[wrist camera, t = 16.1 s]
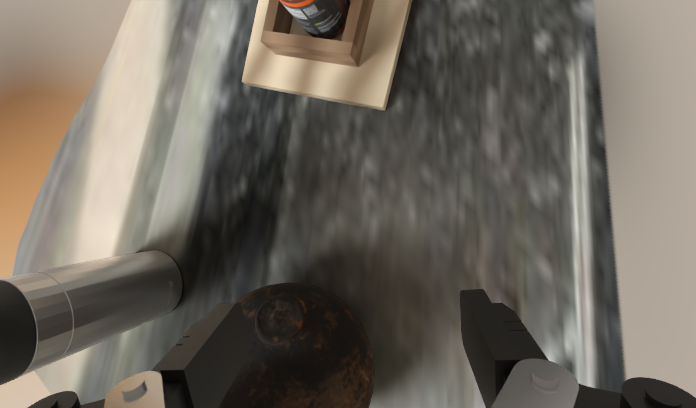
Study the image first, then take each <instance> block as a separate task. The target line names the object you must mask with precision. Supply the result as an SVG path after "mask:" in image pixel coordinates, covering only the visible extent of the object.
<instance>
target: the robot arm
mask: <svg viewBox="0 0 696 408" xmlns="http://www.w3.org/2000/svg"><path fill="white" fill-rule="evenodd" d="M182 287H183V286H182V277H181V273H180V271H179V269H178V266H177V265H176V263H175V262H174V260H173V259H172V258H171V257H170V256H168V255H167V254H165V253H163V252H160V251H155V250H151V251H146V252H140V253H132V254H126V255H121V256H116V257H110V258H105V259H99V260H94V261H89V262H83V263H78V264H72V265H67V266H64V267H58V268H53V269H47V270H42V271H37V272H32V273H27V274H21V275H16V276H11V277H6V278H0V385H2V384H4V383H7V382H9V381H11V380H14V379H16V378H18V377H21V376H23V375H25V374H27V373H30V372H32V371H35V370H37V369H39V368H42V367H44V366H46V365H49V364H51V363H53V362H56V361H58V360H60V359H63V358H65V357H67V356H70V355H72V354H74V353H77V352H79V351H81V350H84V349H86V348H88V347H91V346H93V345H95V344H98V343H100V342H102V341H105V340H107V339H109V338H112V337H114V336H116V335H119V334H121V333H123V332H126V331H128V330H130V329H133V328H135V327H137V326H140V325H142V324H144V323H147V322H149V321H151V320H154V319H156V318H159V317H161V316H163V315H166V314H168V313H169V312H171V311H172V310H173V309H174V308H175V307H176V306H177V304H178V302H179V301H180V298H181V294H182ZM460 310H461V332H462V340H463V345H464V348H465V351H466V354H467V357H468V360H469V362H470V365H471V368H472V371H473V373H474V376H475V379H476V382H477V384H478V387H479V390H480V393H481V395H482V398H483V401H484V404H485V406H486V408H696V398H695V397H693V396H692V395H690V394H689V393H688V392H686V391H684V390H682V389H680V388H678V387H676V386H674V385H672V384H669V383H666V382H663V381H660V380H656V379H651V378H642V377H639V378H631V379H628V380H626V381H625V382H624V383H623V384H622V388H621V393H616V392H611V391H606V390H601V389H596V388H591V387H587V386H584V385H581V384H578V382H577V380H576V378H575V377H574V376H573V374H572V373H571V372H569V371H568V370H567V369H565V368H564V367H562V366H560V365H558V364H556V363H554V362H551V361H549V360H548V359H547V358H546V356H545V355H544V353H543V352H542V350H541V349H540V347H539V346H538V345H537V343H536V342H535V340H534V339H533V337H532V336H531V334H530V333H529V332H528V331H527V329H526V327H525V326H524V324H523V323H521V320H520V319H519V317H518V316H517V314H516V313H515V311H513V310H512V309H510V308H509V307H507V306H506V305H504V304H503V303H491V301H490V299H489V298H488V296H487V294H486V293H485V291H484V290H483V289H476V290H461V291H460ZM248 352H249V336H248V331H247V327H246V322H245V317H244V312H243V308H242V305H241V304H240V303H222V304H218V305H217V306H216V307H215V308H214V309H213V310H212V311H211V313H210V314H209V315H208V316H207V317H206V318H203V319H202V320H201V321H199V322H198V323H196V324H195V325H193V326H192V327H191V328H190V329H189V330H188V331H187V332H186V333H185V334H184V335H183V338H181V339H180V340H179V341H178V342H177V343H176V346H173V348H172V349H171V350H170V351H169V352H168V353H167V354H166V355H165V356H164V357H163V359H162V360H161V361H160V362H159V363H158V364H157V365H156V366H155V367H154V369H153V370H152V371H146V372H142V373H138V374H136V375H133V376H131V377H129V378H127V379H125V380H124V381H122V382H120V383H119V384H118V385H116V386H115V387H114V388H113V389H112V390H111V391H110V392H109V394H108V395H107V397H106V399H103V400H99V401H96V402H92V403H88V404H84V405H80V402H79V399H78V396H77V394H76V393H75V392H72V391H65V392H60V393H56V394H53V395H50V396H48V397H46V398H44V399H41V400H40V401H38V402H36V403H34V404H33V405H31V406H30V407H28V408H218V407H219V406H220V404H221V402H222V400H223V398H224V397H225V395H226V393H227V391H228V390H229V388H230V386H231V384H232V382H233V381H234V379H235V377H236V375H237V373H238V372H239V370H240V368H241V366H242V365H243V363H244V361H245V359H246V357H247V355H248Z"/></svg>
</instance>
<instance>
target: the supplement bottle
mask: <svg viewBox="0 0 696 408" xmlns="http://www.w3.org/2000/svg"><path fill="white" fill-rule="evenodd" d="M279 1H280V2H281V3H282V4H283V5H284V7H285V8H286V9H287V10H288V11H289V12H290V13H291V15H292V16H293V17H294V18H295V19H296V20H297V21H298V23H299V24H300V25H301V26H302V27H303V28H304V30H305V31H306V32H307V33H308V34H309V35H311V36H312V37H315V38H323V39H331V38H334V37H336V36H337V35H339V34H340V33H341V32H342V31H343V30H344V29H345V25H346V20H347V16H348V12H349V7H350V0H279Z"/></svg>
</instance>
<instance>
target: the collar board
mask: <svg viewBox="0 0 696 408" xmlns="http://www.w3.org/2000/svg"><path fill="white" fill-rule="evenodd" d="M411 4H412V0H350V7H349V12H348V16H347V20H346V25H345V29H344V30H343V31H342V32H341V33H340V34H339V35H337V36H336V37H334V38H331V39H323V38H315V37H312V36H311V35H309V34H308V33H307V32H306V31H305V30H304V28H303V27H302V26H301V25H300V24H299V23H298V21H297V20H296V19H295V18H294V17H293V16H292V15H291V13H290V12H289V11H288V10H287V9H286V8H285V7H284V5H283V4H282V3H281V2H280V1H279V0H259V1H258V5H257V10H256V15H255V20H254V25H253V29H252V34H251V39H250V44H249V49H248V54H247V58H246V63H245V68H244V73H243V78H242V82H243V83H245V84H247V85H249V86H254V87H260V88H265V89H270V90H276V91H281V92H286V93H292V94H297V95H302V96H308V97H313V98H318V99H324V100H329V101H335V102H340V103H345V104H351V105H356V106H361V107H367V108H372V109H377V110H383V111H385V109H386V105H387V101H388V97H389V93H390V89H391V85H392V81H393V77H394V73H395V69H396V65H397V61H398V57H399V53H400V49H401V45H402V41H403V37H404V32H405V28H406V24H407V20H408V16H409V12H410V8H411Z"/></svg>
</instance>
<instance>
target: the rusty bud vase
mask: <svg viewBox="0 0 696 408" xmlns="http://www.w3.org/2000/svg"><path fill="white" fill-rule="evenodd" d="M235 303H240V304H241V305H242V308H243V312H244V317H245V322H246V327H247V331H248V336H249V352H248V355H247V357H246V359H245V361H244V363H243V365H242V366H241V368H240V370H239V372H238V373H237V375H236V377H235V379H234V381H233V382H232V384H231V386H230V388H229V390H228V391H227V393H226V395H225V397H224V398H223V400H222V402H221V404H220V406H219V407H218V408H369V405H370V401H371V397H372V393H373V386H374V359H373V353H372V349H371V345H370V342H369V339H368V336H367V334H366V331H365V329H364V327H363V325H362V324H361V322H360V320H359V319H358V318H357V316H356V315H355V314H354V313H353V311H352V310H351V309H350V308H349V307H348V306H347V305H346V304H345V303H344V302H343V301H341V300H340V299H339V298H337V297H336V296H334V295H333V294H331V293H329V292H327V291H325V290H323V289H321V288H318V287H315V286H312V285H307V284H300V283H281V284H274V285H269V286H265V287H262V288H259V289H257V290H255V291H252V292H250V293H248V294H246V295H245V296H243V297H241V299H240V300H238V301H237V302H235Z"/></svg>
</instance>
